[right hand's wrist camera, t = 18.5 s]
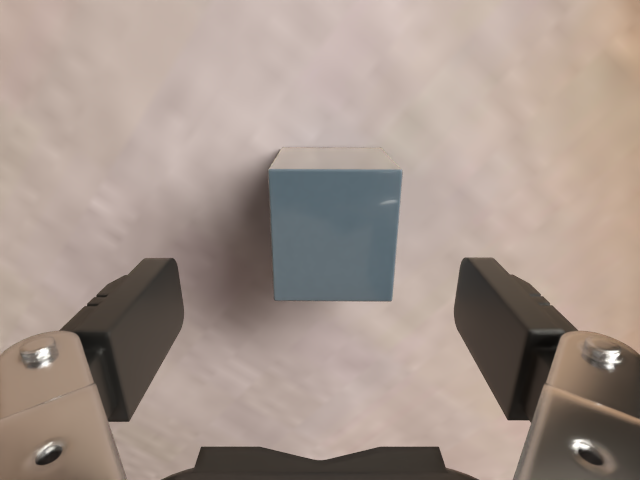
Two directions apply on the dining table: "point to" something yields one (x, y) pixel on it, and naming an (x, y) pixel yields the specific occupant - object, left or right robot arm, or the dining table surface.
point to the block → (334, 223)
